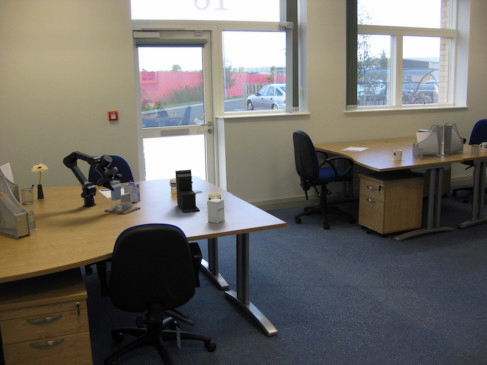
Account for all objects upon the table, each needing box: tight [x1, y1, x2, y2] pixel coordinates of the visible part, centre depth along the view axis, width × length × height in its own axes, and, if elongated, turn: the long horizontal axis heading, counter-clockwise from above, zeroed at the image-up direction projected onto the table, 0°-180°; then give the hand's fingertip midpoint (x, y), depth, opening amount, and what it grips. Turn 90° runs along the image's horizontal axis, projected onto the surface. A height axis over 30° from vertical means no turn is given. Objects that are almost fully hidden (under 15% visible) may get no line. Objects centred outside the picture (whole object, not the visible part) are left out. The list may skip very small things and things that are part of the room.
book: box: [109, 180, 122, 201], centre depth 303 cm, size 3×6×12 cm, turn 150°
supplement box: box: [206, 198, 226, 224], centre depth 271 cm, size 7×7×13 cm
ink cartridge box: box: [123, 180, 141, 203], centre depth 325 cm, size 10×6×14 cm, turn 83°
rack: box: [104, 193, 141, 215], centre depth 303 cm, size 18×14×11 cm
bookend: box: [174, 169, 201, 214], centre depth 302 cm, size 23×11×24 cm, turn 18°
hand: (117, 189), depth 302 cm, fingers closed on book, 6 cm apart
